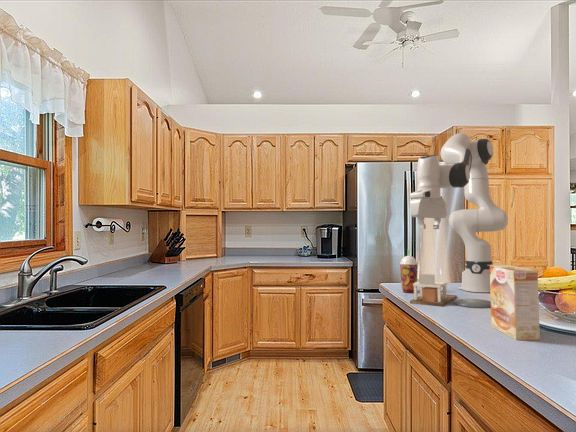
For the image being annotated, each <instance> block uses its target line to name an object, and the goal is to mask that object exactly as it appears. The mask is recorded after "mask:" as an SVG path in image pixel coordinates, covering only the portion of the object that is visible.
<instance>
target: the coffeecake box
mask: <svg viewBox="0 0 576 432" xmlns="http://www.w3.org/2000/svg"><path fill="white" fill-rule="evenodd" d="M538 272H539V271H538V270H536V269H535V270H534V269H531V268H527V267H520V266H516V265H513V264H512V265H511V264H504V265H503V264H493V265H490V292H489V293H490V301H491V307H490V315H491V316H490V318H491V319H490V320H491V325H490V327H491V328H492V329H495V330H496V331H499V332H501V333H502V334H504V335H506V336H508V337H510V338H511V339H513V340H515V341H529V340H531V341H539V340H540V339H541V335H540V334H541V333H540V307H539V305H540V304H539V303H540V302H539V273H538Z"/></svg>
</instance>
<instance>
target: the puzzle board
mask: <svg viewBox="0 0 576 432" xmlns="http://www.w3.org/2000/svg"><path fill="white" fill-rule="evenodd" d="M456 299H457V295H455V294H447V293H446V299H443V293H441V302H438V301H437V302H430V301H422V297H420V295H419V296H417V300H414V298H412V299H411V300H409V304H414V305H415V304H416V305H424V306H425V305H426V306H433V307H434V306H435V307H444V306H446V305H447V304H449V303H451V302H452V301H455V300H456Z"/></svg>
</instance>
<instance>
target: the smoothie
mask: <svg viewBox="0 0 576 432" xmlns="http://www.w3.org/2000/svg"><path fill="white" fill-rule="evenodd" d="M418 264H419V263H418V262H417V260H416V258H415V257H414V256H412V255H410V250H409V249H407V255H405V256H403V257H402V259H401V260H400V262H399V271H400V283H401V290H402V292H404V293H406V294H414V286H413V283H415V282H418V268H419V267H418Z"/></svg>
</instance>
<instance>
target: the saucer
mask: <svg viewBox="0 0 576 432" xmlns="http://www.w3.org/2000/svg"><path fill="white" fill-rule="evenodd" d="M454 305H456V306H459V307H462V308H469V309H470V308H471V309H489V308H490V309H491V300H486V299H481V298H480V299H479V298H478V299H477V298H460V299H459V298H458V299H454Z"/></svg>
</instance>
